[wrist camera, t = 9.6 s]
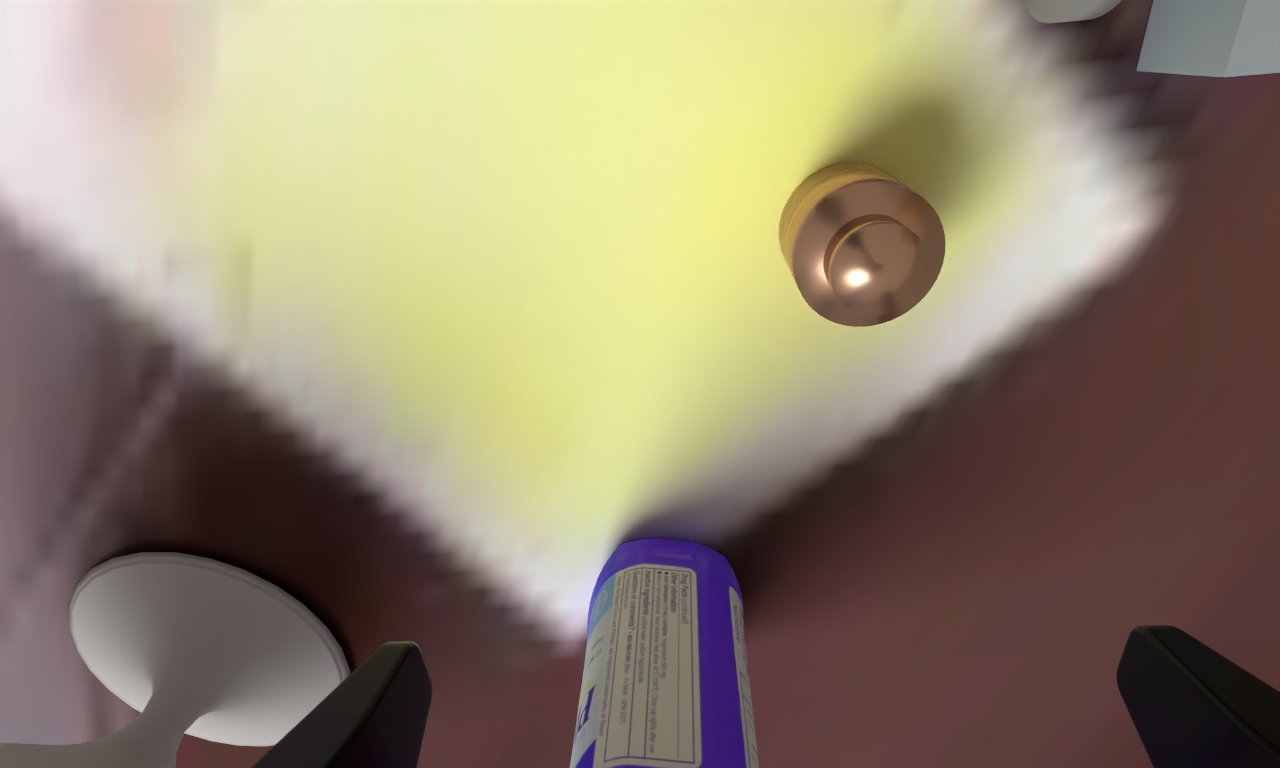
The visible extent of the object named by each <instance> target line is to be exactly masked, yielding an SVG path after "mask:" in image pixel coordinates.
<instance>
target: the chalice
mask: <svg viewBox="0 0 1280 768" xmlns="http://www.w3.org/2000/svg"><path fill="white" fill-rule="evenodd" d="M69 626H70V631H71V634H72V637H73V639H74V642H75V645H76V648H77V651H78V652H79V654H80V655H81V657H82V658H83V660H84V661H85V663H86V665H87V666H88V668H89V669H90V671H91V672H92V673H93V674H94V675H95V676H96V677H97V678H98V679H99V680H100V681H101V682H102V683H103V684H104V685H105V686H106V687H107V688H108V689H109V690H110V691H111V692H112V693H114V694H115V695H116V696H118V697H119V698H120V699H122V700H123V701H124V702H125V703H127V704H128V705H129V706H131V707H132V708H134V709H136V710H137V711H139V712H141V714H140V715H139V716H137V717H136V718H135V719H134V720H133V721H131V722H130V723H129V724H128V725H126V726H125V727H124V728H123V729H121V730H118V731H116V732H114V733H112V734H110V735H108V736H106V737H104V738H102V739H99V740H95V741H90V742H86V743H81V744H72V745H37V744H15V743H0V768H175V765H176V752H177V749H178V747H179V745H180V742H181V740H182V737H183V735H184V733H185V734H189V735H192V736H196V737H199V738H202V739H206V740H209V741H213V742H220V743H226V744H232V745H238V746H272V745H275V744H277V743H278V742H279V741H280V740H281V739H282V738H283V737H284V736H285V735H286V734H287V733H288V732H289V731H290V730H291V729H293V728H294V727H295V726H296V725H297V724H298V723H299V722H300V721H301V720H302V719H303V718H304V717H305V716H306V715H307V714H308V713H310V712H311V711H312V710H313V709H314V708H315V707H316V706H317V705H318V704H319V703H320V702H321V701H322V700H323V699H324V698H326V697H327V696H328V695H329V694H330V693H331V692H332V691H333V690H334V689H335V688H336V687H337V686H338V685H339V684H340V683H341V682H343V681H344V680H345V679H346V678H347V677H348V676H349V675H350V669H349V666H348V664H347V661H346V658H345V656H344V653H343V650H342V648H341V647H340V645H339V644H338V642H337V641H336V640H335V638H334V637H333V635H332V634H331V632H330V631H329V629H328V628H327V627H326V626H325V625H324V624H323V623H322V622H321V621H320V620H319V619H318V618H317V617H316V616H315V615H314V614H313V613H312V612H311V611H310V610H309V609H308V608H307V607H306V606H305V605H304V604H302V603H301V602H299V601H298V600H296V599H295V598H294V597H292V596H291V595H289V594H288V593H286V592H285V591H283V590H282V589H281V588H279V587H278V586H276V585H274V584H272V583H270V582H268V581H266V580H264V579H262V578H260V577H258V576H256V575H254V574H252V573H250V572H248V571H246V570H244V569H241V568H238V567H235V566H232V565H229V564H226V563H222V562H219V561H216V560H213V559H210V558H205V557H200V556H194V555H188V554H182V553H176V552H140V553H135V554H130V555H125V556H120V557H115V558H112V559H110V560H108V561H106V562H104V563H102V564H100V565H98V566H96V567H94V568H92V569H91V570H90V571H89V572H88V573H87V574H86V575H85V576H84V577H83V578H82V579H81V580H80V581H79V582H78V583H77V584H76V585H75V588H74V590H73V593H72V595H71V598H70V600H69Z"/></svg>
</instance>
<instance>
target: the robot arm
mask: <svg viewBox="0 0 1280 768" xmlns="http://www.w3.org/2000/svg"><path fill="white" fill-rule="evenodd" d="M1117 684H1118V688H1119V691H1120V693H1121V696H1122V698H1123V700H1124V703H1125V705H1126V707H1127V709H1128V711H1129V714H1130V716H1131V718H1132V720H1133V723H1134V725H1135V727H1136V729H1137V732H1138V734H1139V736H1140V738H1141V740H1142V743H1143V745H1144V747H1145V749H1146V752H1147V754H1148V756H1149V758H1150V761H1151V763H1152V765H1153V767H1154V768H1280V692H1279V691H1277V690H1276V689H1274V688H1273V687H1271V686H1269V685H1268V684H1266V683H1265V682H1263V681H1261V680H1260V679H1258V678H1257V677H1255V676H1254V675H1252V674H1250V673H1249V672H1247V671H1246V670H1244V669H1242V668H1241V667H1239V666H1238V665H1236V664H1235V663H1233V662H1231V661H1230V660H1228V659H1227V658H1225V657H1224V656H1222V655H1220V654H1219V653H1217V652H1216V651H1214V650H1212V649H1211V648H1209V647H1208V646H1206V645H1205V644H1203V643H1201V642H1200V641H1198V640H1197V639H1195V638H1193V637H1192V636H1190V635H1189V634H1187V633H1186V632H1184V631H1182V630H1180V629H1178V628H1176V627H1173V626H1166V625H1160V626H1138V627H1136V628H1134V629H1133V630H1132V631H1131V633H1130V635H1129V638H1128V640H1127V643H1126V646H1125V649H1124V652H1123V654H1122V657H1121V660H1120V663H1119V666H1118V669H1117ZM431 699H432V682H431V679H430V676H429V673H428V670H427V667H426V665H425V662H424V659H423V656H422V654H421V651H420V648H419V646H418V645H417V644H416V643H415V642H412V641H399V642H387V643H385V644H383V645H381V646H380V647H379V648H378V649H377V650H376V651H374V652H373V653H372V654H371V655H370V656H369V657H368V658H367V659H366V660H365V661H364V662H363V663H362V664H361V665H360V666H359V667H357V668H356V669H355V670H354V671H353V672H352V673H351V674H350V675H349V676H348V677H347V678H346V679H345V680H344V681H343V682H341V683H340V684H339V685H338V686H337V687H336V688H335V689H334V690H333V691H332V692H331V693H330V694H329V695H328V696H327V697H326V698H324V699H323V700H322V701H321V702H320V703H319V704H318V705H317V706H316V707H315V708H314V709H313V710H312V711H311V712H310V713H308V714H307V715H306V716H305V717H304V718H303V719H302V720H301V721H300V722H299V723H298V724H297V725H296V726H295V727H294V728H293V729H291V730H290V731H289V732H288V733H287V734H286V735H285V736H284V737H283V738H282V739H281V740H280V741H279V742H278V743H277V744H275V745H274V746H273V747H272V748H271V749H270V750H269V751H268V752H267V753H266V754H265V755H264V756H263V757H262V758H261V759H260V760H258V761H257V762H256V763H255V764H254V765H253V766H252V767H251V768H416V767H417V763H418V758H419V754H420V749H421V745H422V740H423V736H424V731H425V727H426V722H427V718H428V713H429V709H430V704H431Z"/></svg>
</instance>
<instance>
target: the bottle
mask: <svg viewBox="0 0 1280 768" xmlns="http://www.w3.org/2000/svg"><path fill="white" fill-rule="evenodd" d="M743 614H744V609H743V599H742V594H741V590H740V587H739V584H738V581H737V578H736V576H735V574H734V571H733V569H732V568H731V566H730V564H729V563H728V561H727V559H726V558H725V557H724V556H723V555H722V554H719V553H718V552H717V551H715V550H713V549H711V548H708V547H705V546H703V545H700V544H697V543H694V542H690V541H681V540H680V541H674V540H669V539H665V538H650V539H641V540H636V541H632V542H628V543H623V544H621V545H620V546H619V547H618V549H617V550H616V551H615V552H614V553H613V554H612V555H611V557H610V558H609V559H608V560H607V562H606V564H605V565H604V567H603V569H602V571H601V573H600V575H599V577H598V579H597V582H596V585H595V588H594V591H593V594H592V598H591V602H590V608H589V614H588V640H587V648H586V657H585V666H584V673H583V680H582V687H581V694H580V701H579V708H578V715H577V722H576V729H575V737H574V743H573V750H572V756H571V763H570V768H759V765H758V756H757V747H756V737H755V728H754V719H753V709H752V700H751V691H750V682H749V672H748V662H747V650H746V640H745V629H744V620H743Z"/></svg>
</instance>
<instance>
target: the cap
mask: <svg viewBox="0 0 1280 768" xmlns="http://www.w3.org/2000/svg"><path fill="white" fill-rule="evenodd" d="M779 241H780V246H781V250H782V253H783V256H784V258H785V260H786V262H787V264H788V266H789V268H790V271H791V273H792V275H793V277H794V279H795V281H796V284H797V286H798V288H799V290H800V292H801V294H802V296H803V298H804V299H805V300H806V302H807V303H808V304H809V306H810V307H811V308H812V309H813V310H814V311H816V312H817V313H818V314H820V315H821V316H823V317H824V318H826V319H828V320H830V321H833V322H835V323H838V324H842V325H847V326H872V325H877V324H881V323H884V322H887V321H890V320H892V319H895V318H897V317H899V316H901V315H902V314H904V313H906V312H907V311H909V310H910V309H911V308H913V307H914V306H915V305H916V304H917V303H918V302H920V301H921V300H922V299H923V298H924V296H925V295H926V294H927V293H928V292H929V290H930V289H931V287H932V286H933V284H934V283H935V281H936V279H937V277H938V275H939V273H940V270H941V267H942V264H943V260H944V255H945V235H944V231H943V226H942V224H941V221H940V219H939V217H938V215H937V213H936V212H935V210H934V209H933V208H932V206H931V205H930V204H929V203H928V202H927V201H926V200H925V199H924V198H922V197H921V196H920V195H918V194H917V193H915V192H914V191H912V190H911V189H909V188H908V187H906V186H905V185H903V184H902V183H900V182H899V181H897V180H896V179H894V178H893V177H891V176H890V175H888V174H887V173H885V172H883V171H882V170H880V169H878V168H876V167H874V166H871V165H867V164H864V163H856V162H851V163H840V164H835V165H832V166H828V167H826V168H824V169H821V170H819V171H817V172H816V173H814V174H812V175H811V176H810V177H808V178H807V179H805V180H804V181H803V182H802V183H801V184H800V185H799V186H798V187H797V188H796V190H795V191H794V192H793V193H792V195H791V196H790V198H789V199H788V201H787V203H786V205H785V207H784V210H783V213H782V215H781V220H780V225H779Z"/></svg>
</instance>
